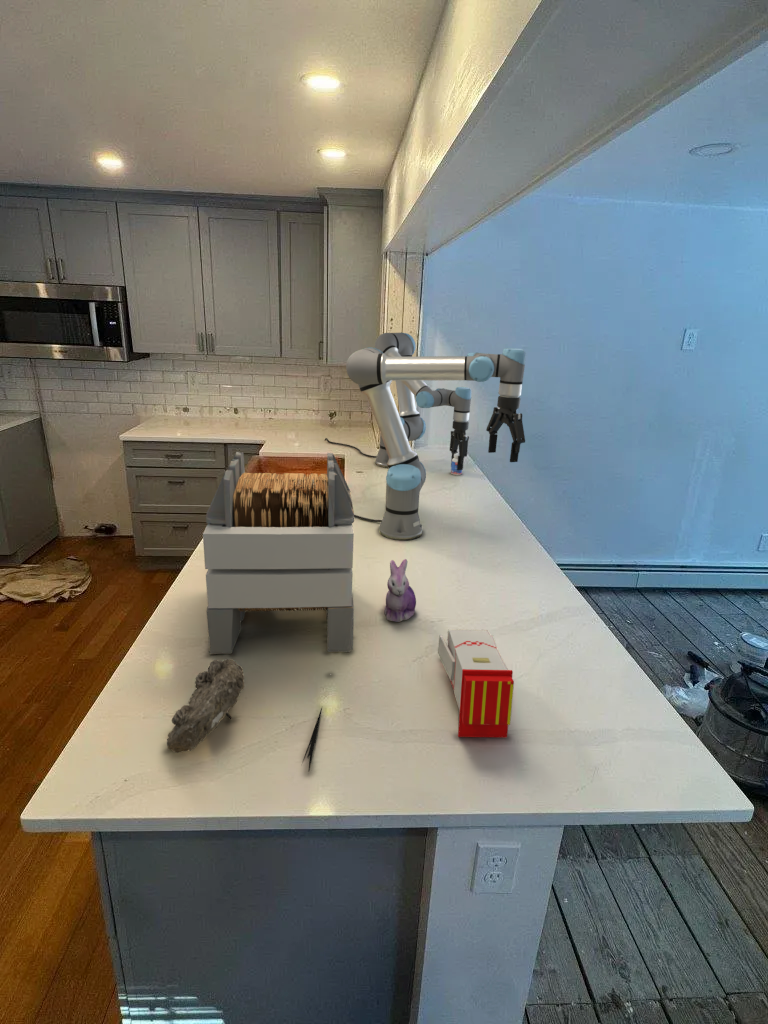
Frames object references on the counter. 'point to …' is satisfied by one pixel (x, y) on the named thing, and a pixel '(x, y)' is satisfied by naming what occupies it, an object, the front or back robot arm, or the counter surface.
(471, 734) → the toy
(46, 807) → the counter surface
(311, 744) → the feather
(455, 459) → the pill bottle
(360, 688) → the counter surface
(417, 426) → the back robot arm
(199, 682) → the fossil
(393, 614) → the figurine
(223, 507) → the record crate stand
